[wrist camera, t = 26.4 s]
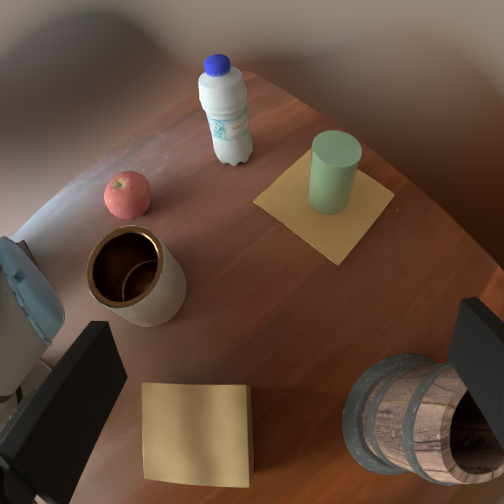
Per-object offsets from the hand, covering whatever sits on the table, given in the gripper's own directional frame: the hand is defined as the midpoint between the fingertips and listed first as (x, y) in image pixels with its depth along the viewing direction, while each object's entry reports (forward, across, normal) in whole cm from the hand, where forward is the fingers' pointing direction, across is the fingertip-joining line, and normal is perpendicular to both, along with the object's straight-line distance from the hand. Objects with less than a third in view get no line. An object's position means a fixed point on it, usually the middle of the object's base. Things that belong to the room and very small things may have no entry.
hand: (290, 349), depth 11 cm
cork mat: (+39, +8, -3) cm, 40 cm away
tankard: (+17, +19, -25) cm, 36 cm away
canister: (+39, +8, -2) cm, 40 cm away
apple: (+40, -22, -2) cm, 46 cm away
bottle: (+46, -6, +4) cm, 47 cm away
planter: (+30, -18, -12) cm, 37 cm away
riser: (+16, -10, -26) cm, 32 cm away
